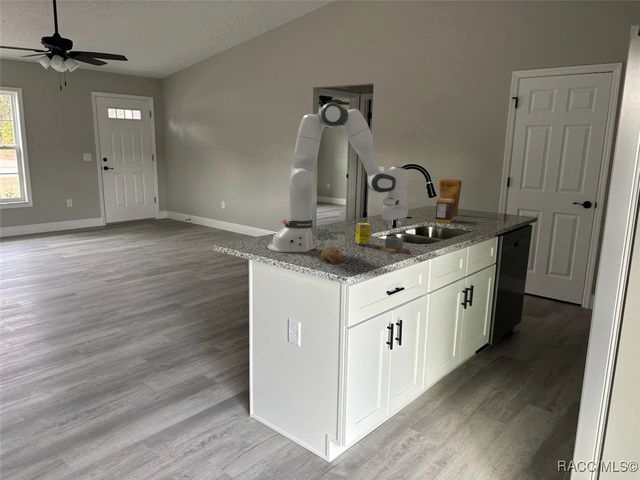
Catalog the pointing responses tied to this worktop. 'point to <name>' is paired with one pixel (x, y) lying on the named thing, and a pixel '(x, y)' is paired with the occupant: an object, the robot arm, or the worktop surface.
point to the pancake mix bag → (450, 191)
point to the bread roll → (331, 256)
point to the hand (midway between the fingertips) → (394, 228)
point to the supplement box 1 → (363, 234)
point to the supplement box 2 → (445, 210)
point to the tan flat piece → (393, 249)
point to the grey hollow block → (394, 242)
